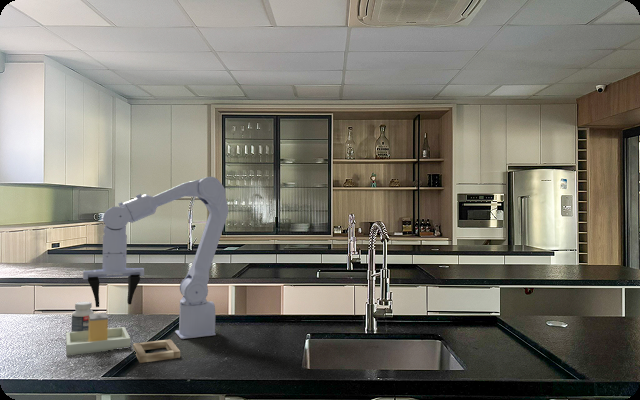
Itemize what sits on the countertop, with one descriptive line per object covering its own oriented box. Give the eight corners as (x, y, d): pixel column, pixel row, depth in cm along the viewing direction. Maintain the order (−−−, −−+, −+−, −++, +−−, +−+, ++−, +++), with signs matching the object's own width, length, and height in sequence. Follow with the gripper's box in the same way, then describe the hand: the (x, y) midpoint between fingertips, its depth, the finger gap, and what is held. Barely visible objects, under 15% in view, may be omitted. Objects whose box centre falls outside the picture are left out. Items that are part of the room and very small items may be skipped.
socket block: (170, 345, 121) (170, 339, 121) (180, 357, 111) (180, 351, 111) (133, 349, 116) (133, 343, 116) (139, 363, 107) (139, 356, 107)
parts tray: (124, 336, 128) (124, 326, 128) (130, 348, 117) (130, 338, 117) (65, 342, 121) (66, 332, 121) (66, 355, 111) (66, 345, 111)
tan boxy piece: (105, 339, 123) (105, 312, 123) (107, 345, 118) (107, 317, 118) (88, 341, 121) (88, 313, 121) (89, 347, 116) (90, 319, 116)
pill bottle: (84, 339, 124) (85, 305, 124) (66, 337, 125) (67, 304, 125) (97, 334, 129) (98, 301, 130) (80, 332, 131) (81, 300, 131)
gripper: (84, 255, 116) (83, 310, 115) (146, 253, 123) (145, 305, 123) (83, 252, 122) (81, 305, 122) (142, 250, 129) (141, 300, 129)
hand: (113, 305), depth 123 cm, fingers open, 7 cm apart
